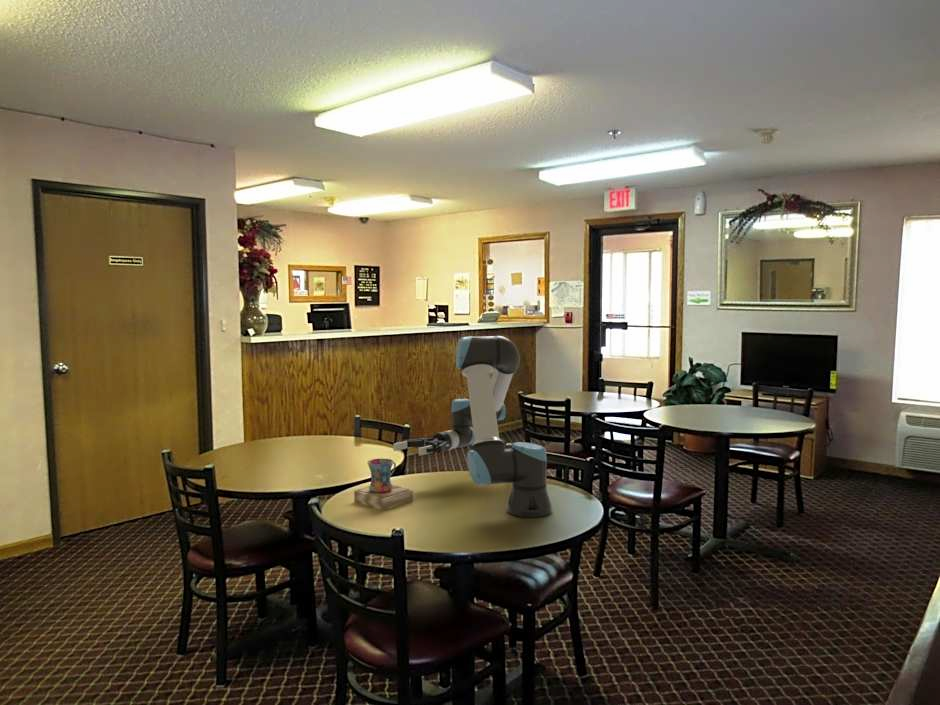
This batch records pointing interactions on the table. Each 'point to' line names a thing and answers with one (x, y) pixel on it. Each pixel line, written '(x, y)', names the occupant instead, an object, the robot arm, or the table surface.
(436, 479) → the table surface
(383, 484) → the mug
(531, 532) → the table surface
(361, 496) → the block
